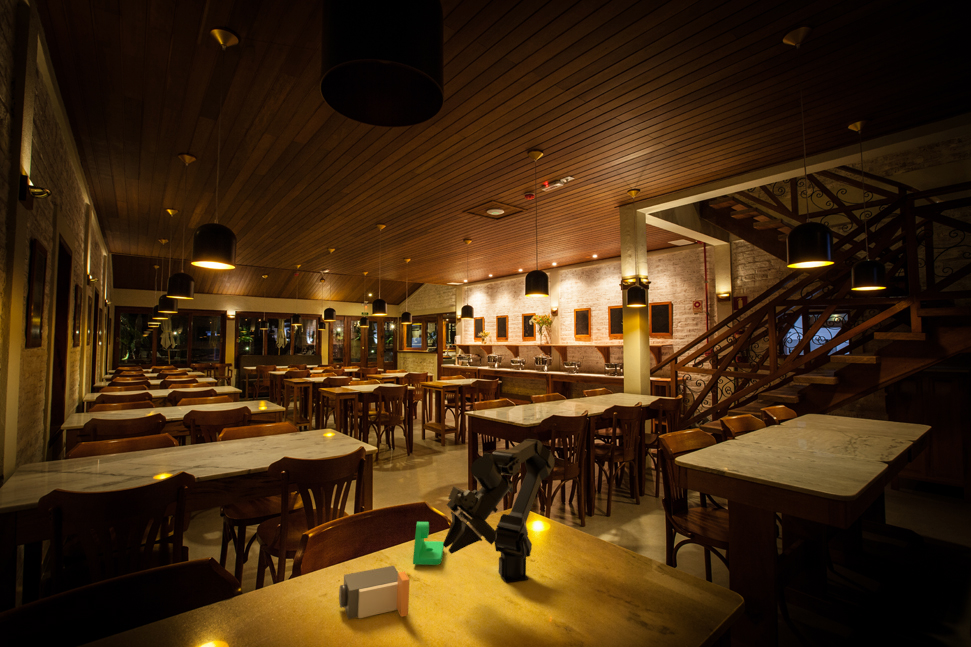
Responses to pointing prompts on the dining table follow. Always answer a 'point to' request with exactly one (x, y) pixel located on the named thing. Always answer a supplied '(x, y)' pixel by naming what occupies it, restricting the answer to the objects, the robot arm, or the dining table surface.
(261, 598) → the dining table surface
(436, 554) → the camera mount
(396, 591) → the side door
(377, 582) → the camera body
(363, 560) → the dining table surface
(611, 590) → the dining table surface
